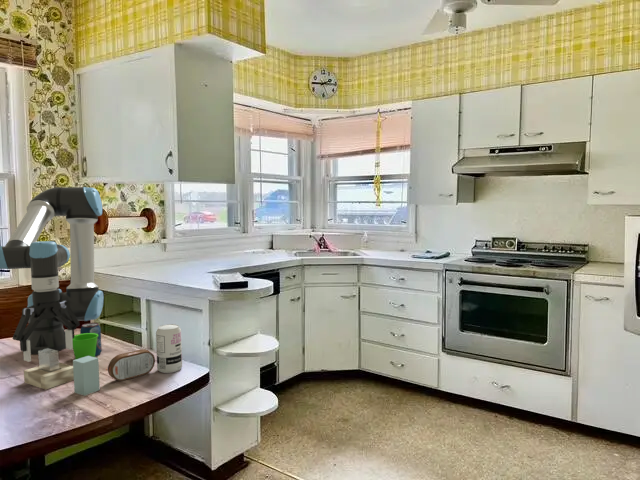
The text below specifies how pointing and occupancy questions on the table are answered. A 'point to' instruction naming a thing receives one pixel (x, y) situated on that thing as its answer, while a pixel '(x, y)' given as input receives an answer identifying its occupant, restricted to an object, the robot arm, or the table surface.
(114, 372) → the tin
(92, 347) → the cup
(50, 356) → the grey rectangular block
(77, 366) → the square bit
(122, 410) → the table surface
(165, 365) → the supplement can
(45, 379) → the slotted holder
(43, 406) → the table surface
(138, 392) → the table surface
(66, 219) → the robot arm
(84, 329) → the soda can
